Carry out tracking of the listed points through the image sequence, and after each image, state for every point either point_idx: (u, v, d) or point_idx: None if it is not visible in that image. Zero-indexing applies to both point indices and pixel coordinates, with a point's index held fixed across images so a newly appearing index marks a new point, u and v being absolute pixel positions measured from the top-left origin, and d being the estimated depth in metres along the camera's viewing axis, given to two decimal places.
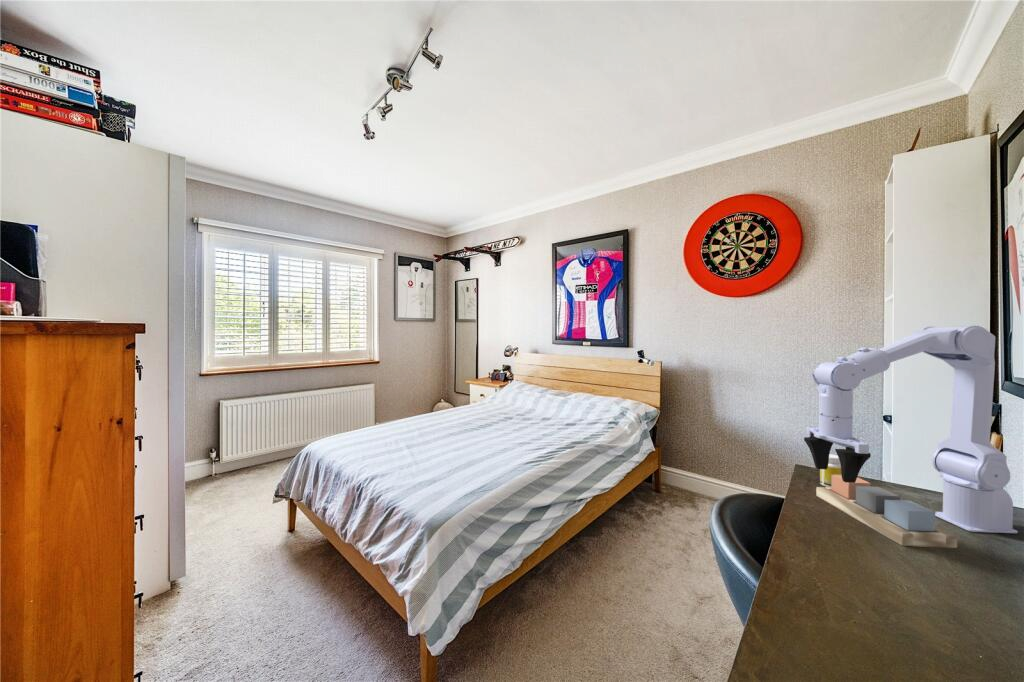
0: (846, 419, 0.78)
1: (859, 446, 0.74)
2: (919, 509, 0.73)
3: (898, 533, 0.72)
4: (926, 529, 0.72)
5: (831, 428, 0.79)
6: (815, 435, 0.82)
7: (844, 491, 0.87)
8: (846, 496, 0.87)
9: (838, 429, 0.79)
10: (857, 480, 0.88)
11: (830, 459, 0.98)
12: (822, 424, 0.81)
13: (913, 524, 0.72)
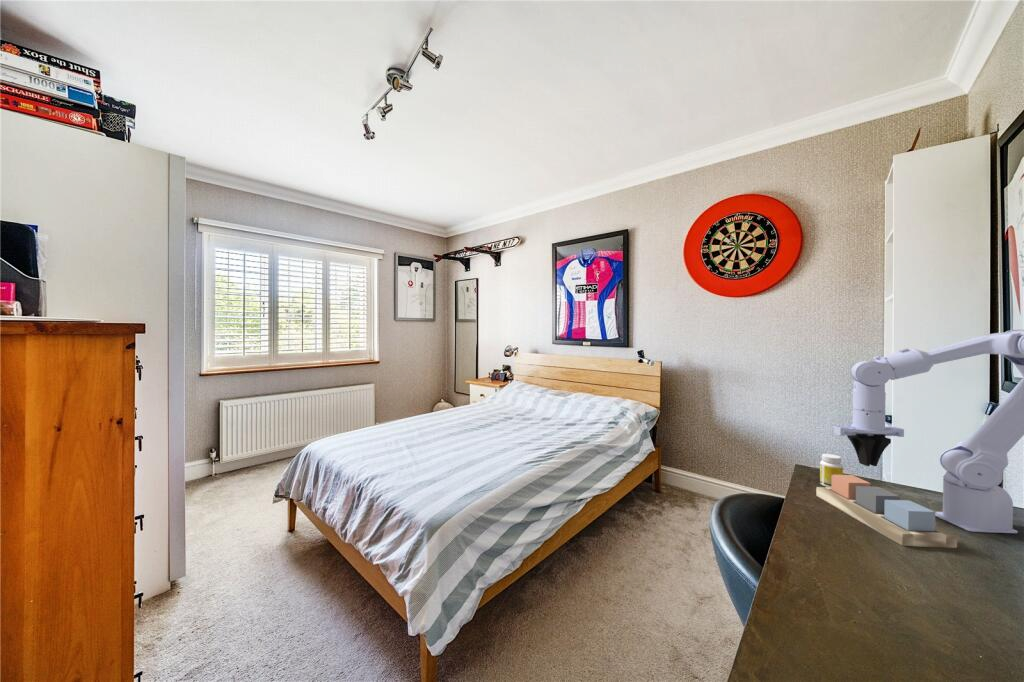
0: (856, 410, 0.88)
1: (834, 428, 0.89)
2: (919, 509, 0.73)
3: (898, 533, 0.72)
4: (926, 529, 0.72)
5: None
6: None
7: (844, 491, 0.87)
8: (846, 496, 0.87)
9: (853, 418, 0.89)
10: (857, 480, 0.88)
11: (830, 459, 0.98)
12: None
13: (913, 524, 0.72)
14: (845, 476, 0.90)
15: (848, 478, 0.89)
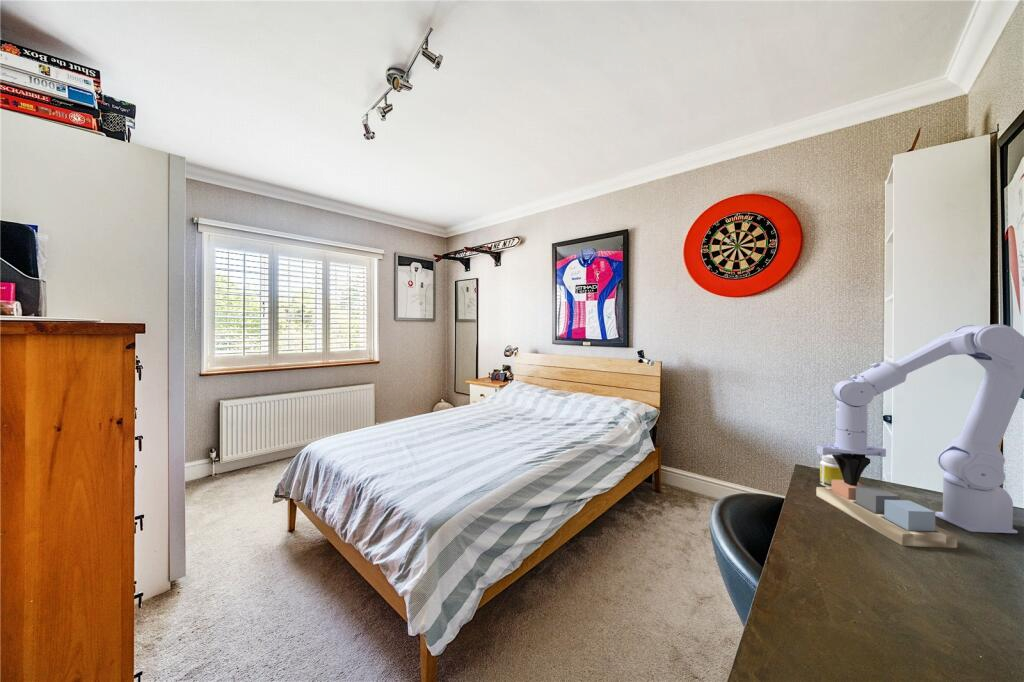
0: (839, 430, 0.88)
1: (817, 447, 0.90)
2: (919, 509, 0.73)
3: (898, 533, 0.72)
4: (926, 529, 0.72)
5: (835, 437, 0.91)
6: None
7: (844, 496, 0.87)
8: None
9: (835, 438, 0.90)
10: (857, 485, 0.88)
11: (830, 459, 0.98)
12: None
13: (913, 524, 0.72)
14: None
15: (848, 484, 0.89)
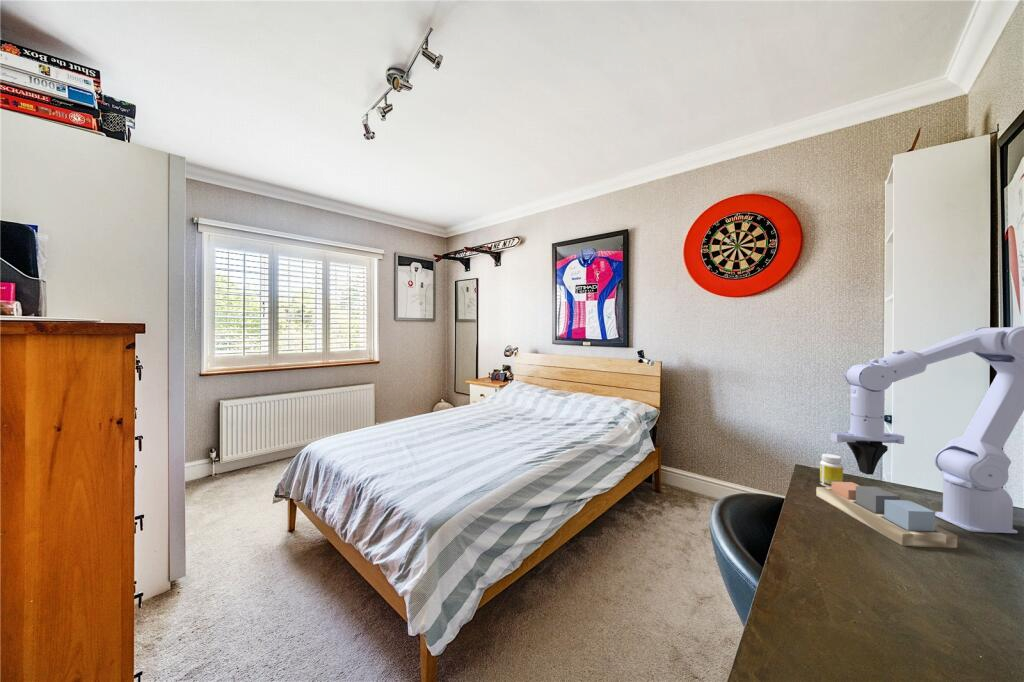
0: (854, 416, 0.84)
1: (831, 434, 0.86)
2: (919, 509, 0.73)
3: (898, 533, 0.72)
4: (926, 529, 0.72)
5: None
6: None
7: None
8: None
9: (850, 424, 0.86)
10: None
11: (830, 459, 0.98)
12: None
13: (913, 524, 0.72)
14: (845, 483, 0.90)
15: (848, 486, 0.89)
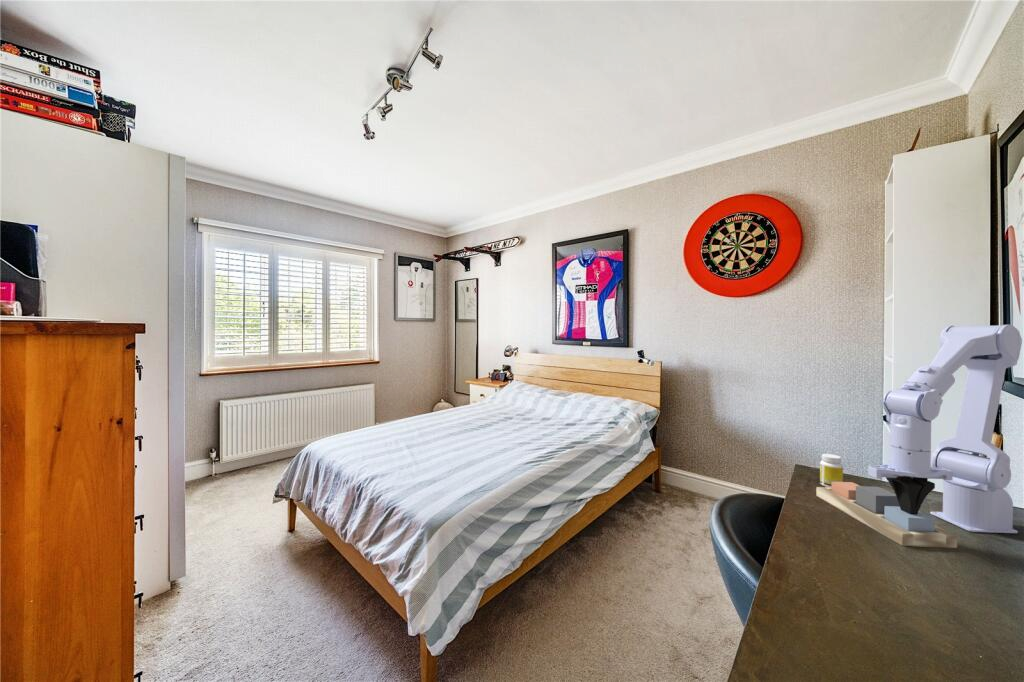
0: (895, 448, 0.75)
1: (869, 468, 0.76)
2: (919, 515, 0.73)
3: (898, 533, 0.72)
4: None
5: (890, 455, 0.77)
6: None
7: None
8: None
9: (890, 457, 0.76)
10: None
11: (830, 459, 0.98)
12: None
13: (913, 530, 0.72)
14: (845, 483, 0.90)
15: (848, 486, 0.89)
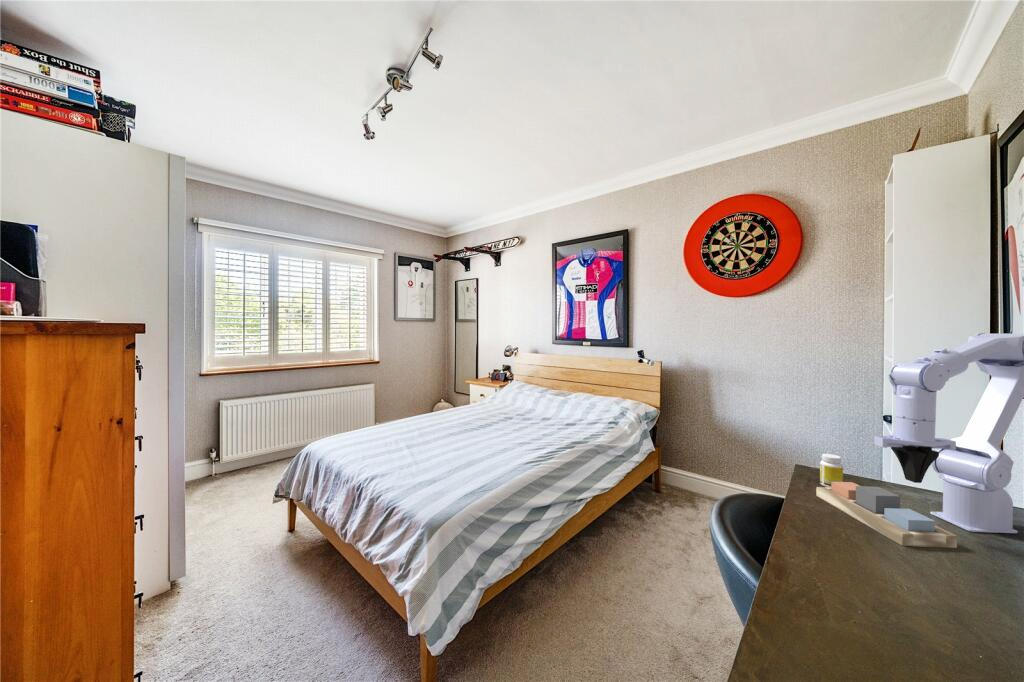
0: (901, 419, 0.77)
1: (875, 438, 0.78)
2: (919, 518, 0.73)
3: (898, 533, 0.72)
4: None
5: None
6: None
7: None
8: None
9: (896, 428, 0.78)
10: None
11: (830, 459, 0.98)
12: None
13: None
14: (845, 483, 0.90)
15: (848, 486, 0.89)
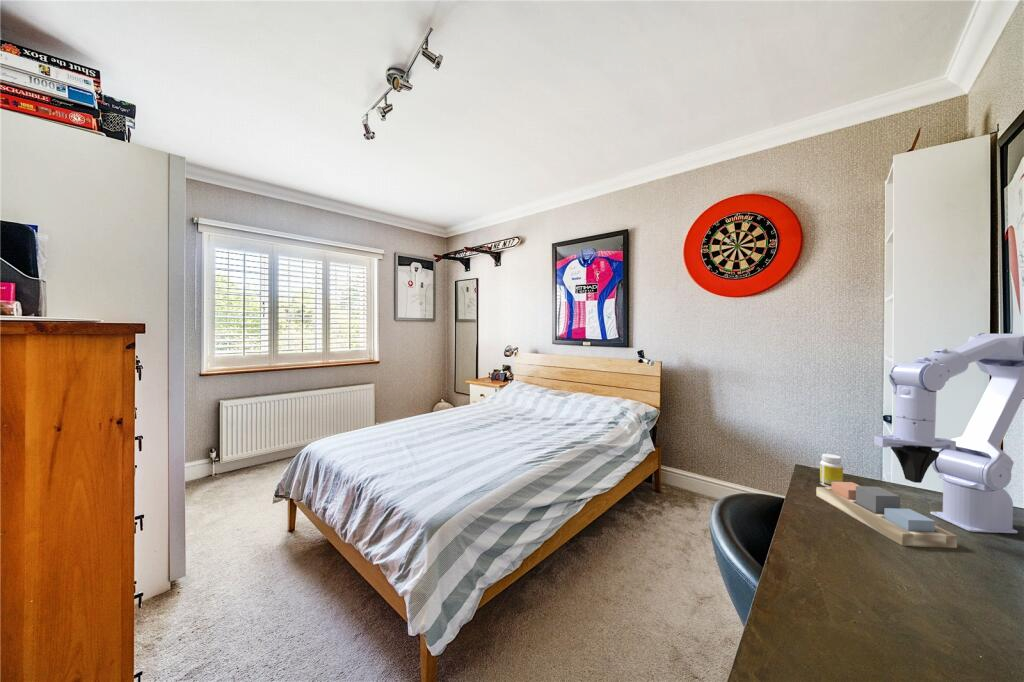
0: (901, 418, 0.77)
1: (875, 438, 0.78)
2: (919, 518, 0.73)
3: (898, 533, 0.72)
4: None
5: None
6: None
7: None
8: None
9: (896, 427, 0.78)
10: None
11: (830, 459, 0.98)
12: None
13: None
14: (845, 483, 0.90)
15: (848, 486, 0.89)
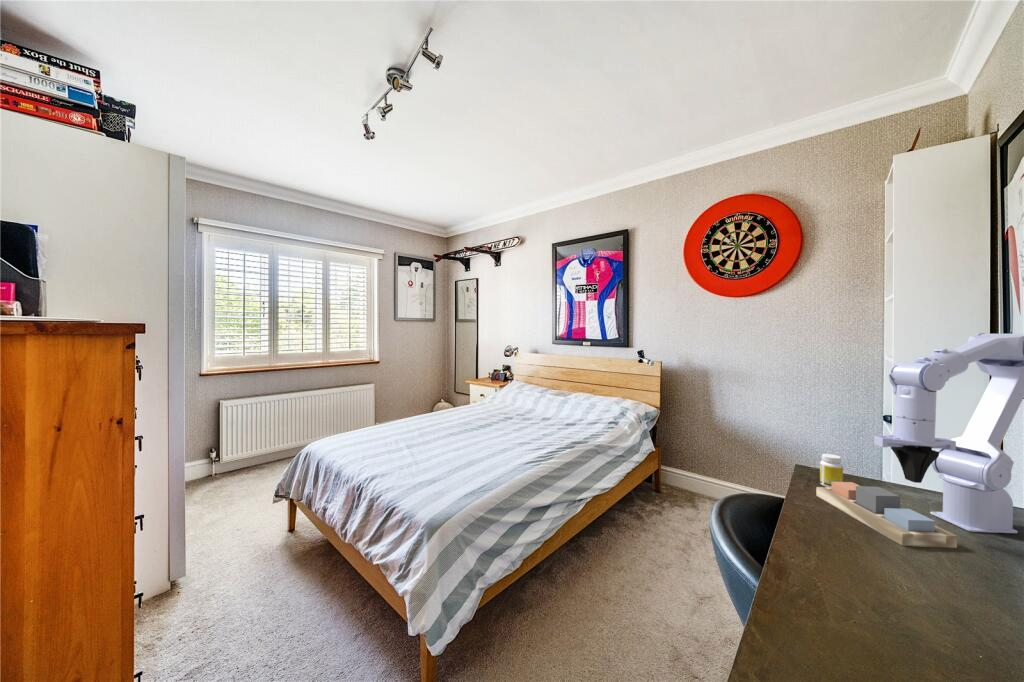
0: (901, 418, 0.77)
1: (875, 438, 0.78)
2: (919, 518, 0.73)
3: (898, 533, 0.72)
4: None
5: None
6: None
7: None
8: None
9: (896, 427, 0.78)
10: None
11: (830, 459, 0.98)
12: None
13: None
14: (845, 483, 0.90)
15: (848, 486, 0.89)
